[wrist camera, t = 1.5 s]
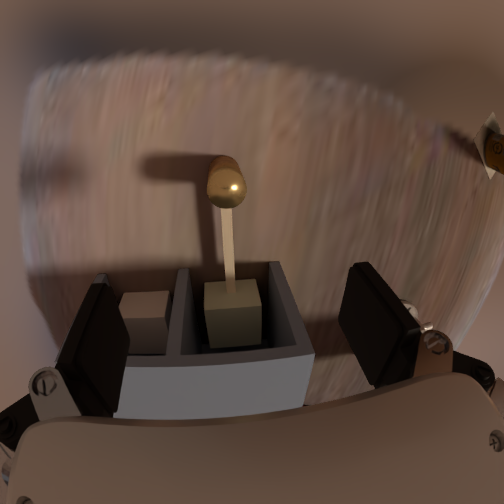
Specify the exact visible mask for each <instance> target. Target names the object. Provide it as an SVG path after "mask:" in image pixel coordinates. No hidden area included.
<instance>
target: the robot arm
mask: <svg viewBox="0 0 504 504" xmlns="http://www.w3.org/2000/svg"><path fill="white" fill-rule="evenodd" d="M338 321H339V325H340V327H341V329H342V331H343V332H344V334H345V336H346V338H347V340H348V342H349V344H350V346H351V348H352V350H353V352H354V354H355V356H356V358H357V360H358V362H359V364H360V366H361V368H362V370H363V372H364V374H365V376H366V378H367V380H368V382H369V384H370V385H374V387H375V389H374V390H371V391H367V392H364V393H360V394H356V395H353V396H349V397H345V398H341V399H337V400H333V401H328V402H324V403H319V404H314V405H309V406H304V407H299V408H293V409H288V410H282V411H275V412H268V413H261V414H253V415H244V416H234V417H222V418H208V419H183V420H152V419H124V418H113V415H114V413H116V412H117V411H118V405H119V399H120V393H121V387H122V382H123V376H124V371H125V366H126V361H127V356H128V351H129V346H130V336H129V333H128V331H127V328H126V326H125V323H124V320H123V318H122V315H121V312H120V309H119V307H118V304H117V301H116V298H115V295H114V292H113V289H112V287H111V286H108V285H107V284H106V283H93V284H91V286H90V288H89V290H88V292H87V294H86V296H85V298H84V300H83V302H82V304H81V307H80V309H79V311H78V313H77V315H76V317H75V320H74V322H73V324H72V326H71V329H70V331H69V333H68V336H67V338H66V340H65V343H64V345H63V348H62V350H61V353H60V355H59V358H58V361H57V363H56V366H55V368H52V367H45V368H42V369H39V370H38V371H36V372H35V373H34V374H33V376H32V377H31V379H30V381H29V386H28V388H29V394H27V395H26V396H24V397H23V398H21V399H20V400H18V401H17V402H15V403H14V404H13V405H11V406H9V407H8V408H6V409H5V410H3V411H2V412H1V413H0V504H504V381H503V380H502V379H500V378H497V379H495V375H494V372H493V370H492V368H491V367H490V366H489V365H488V364H487V363H485V362H483V361H481V360H478V359H475V358H472V357H469V356H467V355H464V354H461V353H459V352H456V351H453V344H452V342H451V340H450V338H449V337H448V336H447V335H445V334H444V333H443V332H440V331H438V330H431V329H432V327H433V326H432V323H431V322H428V323H424V324H421V323H420V322H419V321H418V312H417V310H416V308H415V307H414V306H413V304H411V303H410V302H408V301H400V299H399V298H398V297H397V296H396V294H395V293H394V292H393V291H392V289H391V288H390V287H389V286H388V284H387V283H386V282H385V281H384V280H383V278H382V277H381V276H380V275H379V274H378V272H377V271H376V270H375V269H374V268H373V267H372V265H371V264H370V263H369V262H359V263H354V265H353V267H350V269H349V273H348V278H347V282H346V287H345V291H344V296H343V300H342V304H341V308H340V312H339V317H338Z"/></svg>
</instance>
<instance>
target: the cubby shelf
mask: <svg viewBox="0 0 504 504" xmlns="http://www.w3.org/2000/svg"><path fill="white" fill-rule="evenodd" d="M93 283H106V284H107V285H108V286H110V285H109V282H108V279H107V275H106V274H97V276H96V278H95V280H94V282H93ZM93 283H92V284H93ZM80 307H81V306H80ZM79 309H80V308H79ZM78 311H79V310H78ZM77 313H78V312H77ZM76 315H77V314H76ZM75 317H76V316H75ZM74 320H75V318H74ZM74 320H73V322H74ZM73 322H72V324H73ZM72 324H71V326H72ZM71 326H70V329H71ZM70 329H69V331H70ZM69 331H68V333H69ZM68 333H67V335H66V337H65V339H64V342H63V344H62V346H61V348H60V351H59V353H58V355H57V358H56V360H55V363H57V361H58V358H59V355H60V353H61V350H62V348H63V345H64V343H65V340H66V338H67V336H68ZM314 357H315V352H314V349H313V346H312V344H311V341H310V339H309V336H308V333H307V331H306V328H305V326H304V323H303V320H302V318H301V315H300V313H299V310H298V308H297V305H296V302H295V300H294V297H293V295H292V292H291V290H290V287H289V285H288V282H287V280H286V277H285V275H284V272H283V270H282V267H281V265H280V262H269V290H268V326H267V339H262V340H261V344H257V345H247V346H236V347H223V348H210V344H202V342H201V337H200V332H199V327H198V321H197V316H196V310H195V304H194V298H193V292H192V286H191V280H190V274H189V268H186V269H178V275H177V281H176V287H175V293H174V299H173V305H172V312H171V319H170V326H169V333H168V341H167V349H166V353H165V354H129V352H128V356H127V361H126V366H125V371H124V376H123V382H122V387H121V393H120V399H119V405H118V411H117V412H116V413H114V415H113V418H124V419H152V420H183V419H208V418H222V417H234V416H244V415H253V414H261V413H268V412H275V411H282V410H288V409H293V408H299V407H302V406H303V403H304V399H305V395H306V391H307V387H308V383H309V379H310V374H311V370H312V366H313V361H314Z"/></svg>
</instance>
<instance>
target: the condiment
mask: <svg viewBox="0 0 504 504" xmlns="http://www.w3.org/2000/svg"><path fill="white" fill-rule="evenodd" d="M474 142H475V144H476V147H477V149H478V151H479V154H480V156H481V158H482V161H483V164H484V166H485V169H486V171H487V173H488V176H489V179H491V178H492V176H493V174H494V173H495V171H497V172H499V173H501V174H504V135H502V134H501V131H500V128H499V125H498V123H497V121H496V118H495V115H494V113H493V112H492V114H491V115H490V116H489V117H488V119H487V120H486V122H485V123H484V125H483V126H482V127H481V129H480V131H479V132H478V133H477V135H476V137H475V138H474Z"/></svg>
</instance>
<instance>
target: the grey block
mask: <svg viewBox="0 0 504 504" xmlns="http://www.w3.org/2000/svg"><path fill="white" fill-rule="evenodd" d="M119 309H120V312H121V315H122V318H123V320H124V323H125V326H126V328H127V331H128V333H129V336H130V346H129V351H128V352H129V354H165V353H166V349H167V341H168V333H169V326H170V319H171V312H172V301H171V297H170V292H169V291H151V292H131V293H124V294H123V297H122V299H121V302H120V304H119Z"/></svg>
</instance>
